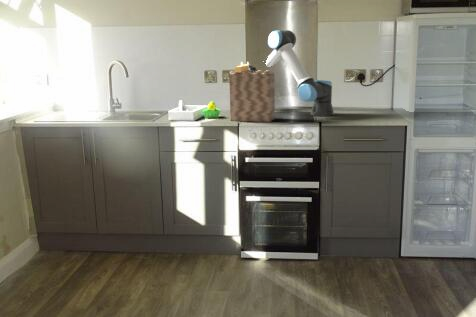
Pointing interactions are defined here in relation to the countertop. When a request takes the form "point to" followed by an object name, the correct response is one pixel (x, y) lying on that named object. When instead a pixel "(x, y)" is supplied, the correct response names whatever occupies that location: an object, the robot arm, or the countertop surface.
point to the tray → (187, 113)
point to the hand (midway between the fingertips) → (244, 63)
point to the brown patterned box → (252, 96)
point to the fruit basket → (211, 111)
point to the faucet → (182, 105)
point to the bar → (241, 68)
